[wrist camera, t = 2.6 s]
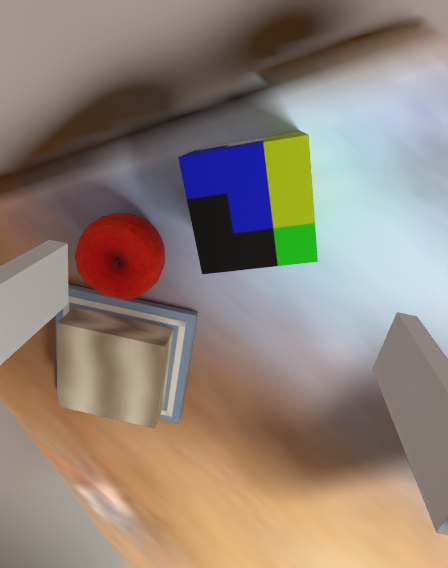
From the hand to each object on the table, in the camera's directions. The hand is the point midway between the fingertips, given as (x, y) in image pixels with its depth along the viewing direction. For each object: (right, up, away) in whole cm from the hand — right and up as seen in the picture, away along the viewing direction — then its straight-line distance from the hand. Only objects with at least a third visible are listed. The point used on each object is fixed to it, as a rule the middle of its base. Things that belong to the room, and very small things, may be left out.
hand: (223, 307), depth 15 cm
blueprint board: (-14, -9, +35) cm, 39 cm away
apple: (-10, +6, +28) cm, 31 cm away
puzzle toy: (+3, +11, +24) cm, 27 cm away
